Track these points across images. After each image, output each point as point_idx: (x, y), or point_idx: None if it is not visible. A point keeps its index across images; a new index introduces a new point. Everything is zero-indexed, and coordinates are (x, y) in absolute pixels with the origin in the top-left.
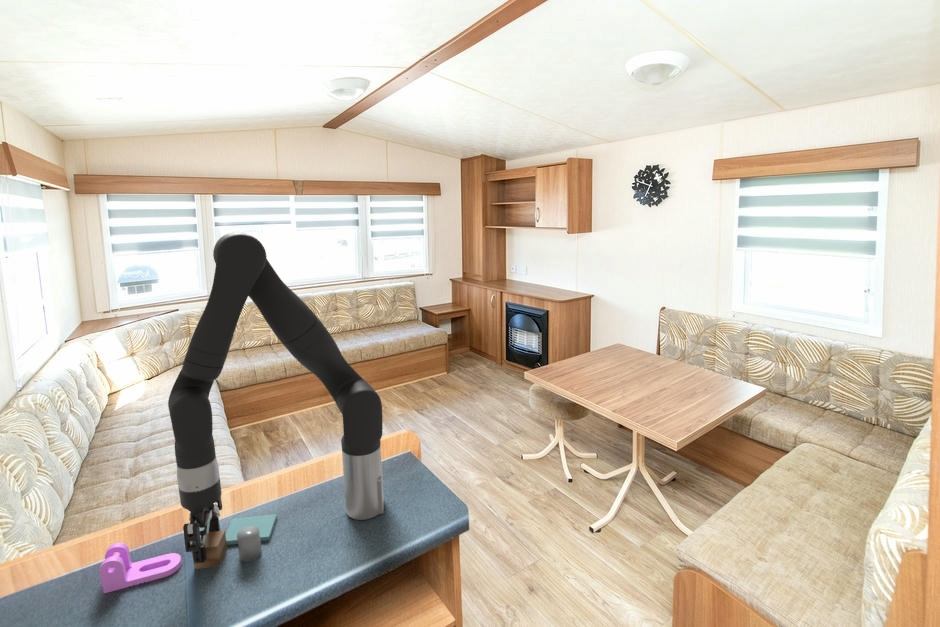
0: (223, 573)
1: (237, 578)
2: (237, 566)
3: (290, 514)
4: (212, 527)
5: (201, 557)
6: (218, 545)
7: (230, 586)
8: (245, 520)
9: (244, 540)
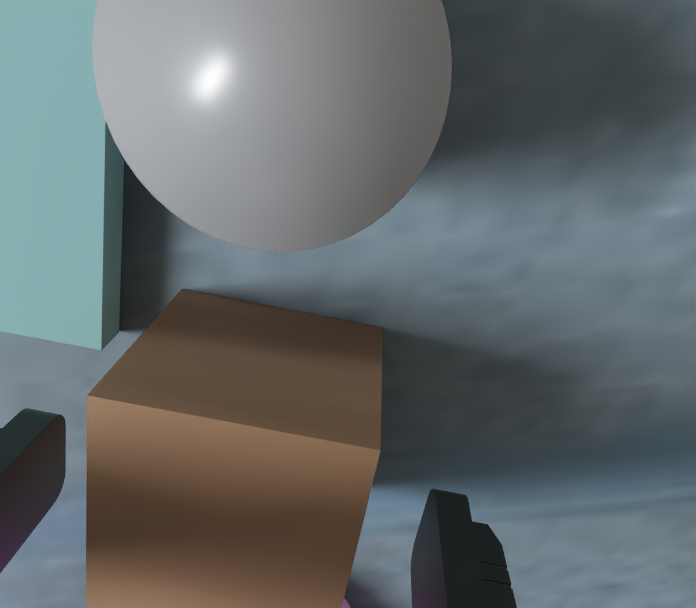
0: (489, 295)
1: (618, 175)
2: (448, 187)
3: None
4: (10, 517)
5: (497, 566)
6: (348, 434)
7: (693, 227)
8: None
9: (437, 128)
